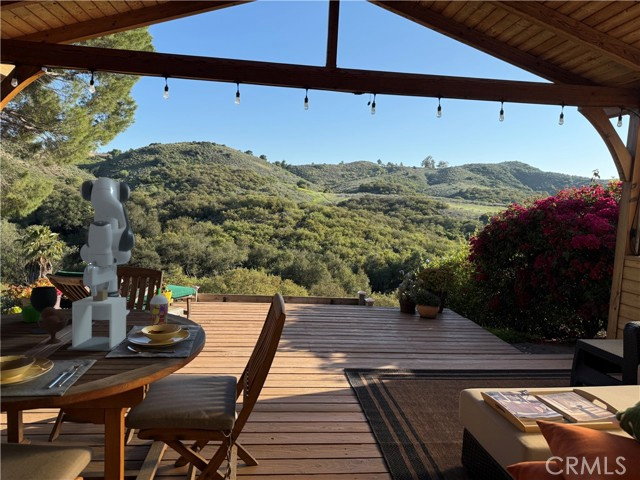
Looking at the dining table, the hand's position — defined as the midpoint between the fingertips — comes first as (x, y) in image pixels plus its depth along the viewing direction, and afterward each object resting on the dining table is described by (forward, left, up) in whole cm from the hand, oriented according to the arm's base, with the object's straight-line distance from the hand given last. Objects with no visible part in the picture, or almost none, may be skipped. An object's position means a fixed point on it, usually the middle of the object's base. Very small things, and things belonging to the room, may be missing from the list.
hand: (100, 293), depth 175 cm
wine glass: (-17, -34, -21) cm, 44 cm away
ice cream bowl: (-1, -20, -21) cm, 29 cm away
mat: (0, 0, -21) cm, 21 cm away
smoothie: (-23, +16, -21) cm, 35 cm away
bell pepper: (-33, -50, -21) cm, 64 cm away
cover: (0, 0, -21) cm, 21 cm away
